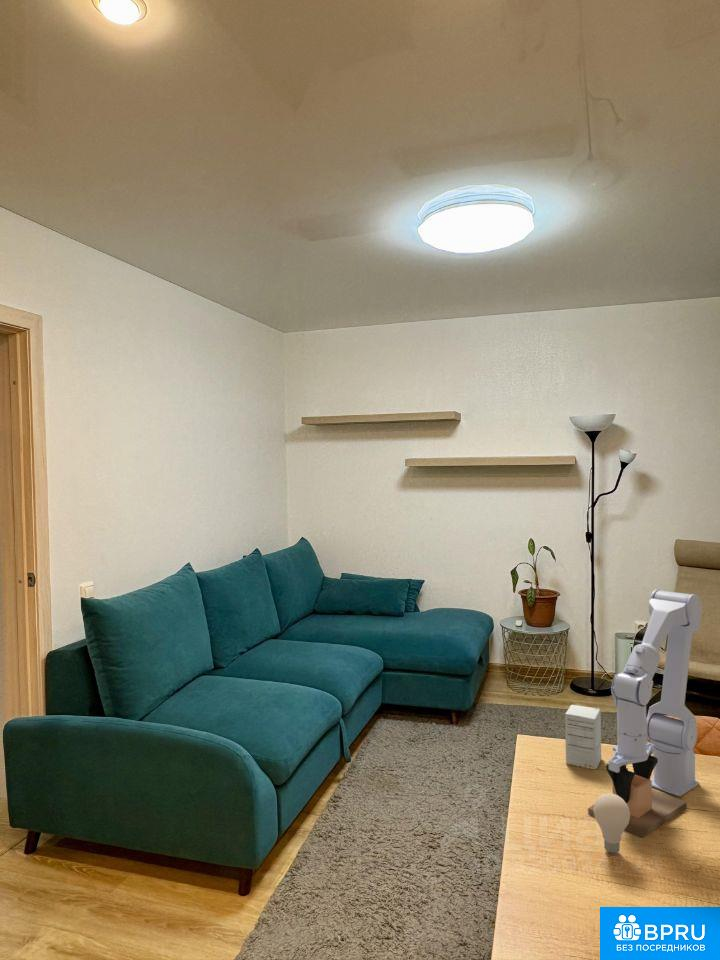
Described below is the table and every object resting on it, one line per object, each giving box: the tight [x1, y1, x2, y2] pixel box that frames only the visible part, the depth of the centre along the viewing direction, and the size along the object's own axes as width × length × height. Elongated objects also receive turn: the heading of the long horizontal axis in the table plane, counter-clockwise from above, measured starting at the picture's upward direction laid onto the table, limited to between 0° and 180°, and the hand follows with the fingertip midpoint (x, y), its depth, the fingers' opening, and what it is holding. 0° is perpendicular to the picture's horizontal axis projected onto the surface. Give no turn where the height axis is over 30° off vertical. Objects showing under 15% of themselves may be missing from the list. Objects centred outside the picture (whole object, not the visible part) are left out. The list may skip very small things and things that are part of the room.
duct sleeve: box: [612, 775, 653, 818], centre depth 141 cm, size 6×6×6 cm
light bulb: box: [593, 792, 630, 854], centre depth 127 cm, size 7×7×11 cm
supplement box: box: [564, 704, 602, 770], centre depth 166 cm, size 7×7×13 cm
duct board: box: [587, 788, 688, 838], centre depth 142 cm, size 18×12×5 cm, turn 128°
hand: (632, 795), depth 141 cm, fingers open, 7 cm apart
